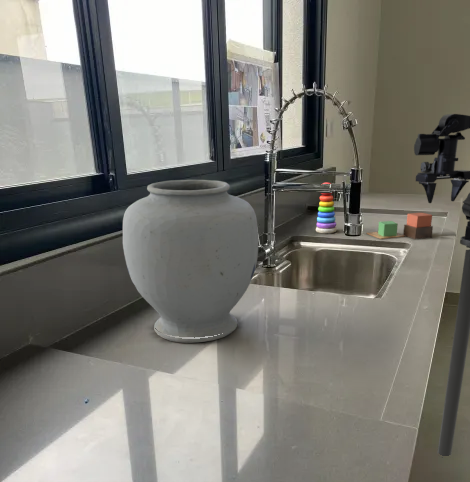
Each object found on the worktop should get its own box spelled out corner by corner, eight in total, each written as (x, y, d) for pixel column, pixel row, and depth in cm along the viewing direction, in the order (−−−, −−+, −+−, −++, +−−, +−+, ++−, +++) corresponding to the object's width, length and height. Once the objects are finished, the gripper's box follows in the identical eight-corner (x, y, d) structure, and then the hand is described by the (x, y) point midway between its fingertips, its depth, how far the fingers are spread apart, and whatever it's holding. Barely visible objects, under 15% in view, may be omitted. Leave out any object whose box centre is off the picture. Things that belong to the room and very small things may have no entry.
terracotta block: (420, 223, 182) (421, 212, 181) (431, 226, 177) (432, 215, 176) (406, 224, 181) (407, 213, 179) (416, 227, 175) (417, 216, 174)
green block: (390, 233, 185) (391, 221, 183) (396, 235, 180) (397, 223, 179) (377, 233, 185) (378, 221, 183) (383, 236, 180) (384, 224, 178)
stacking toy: (320, 229, 197) (321, 180, 191) (339, 230, 193) (341, 181, 187) (312, 233, 191) (313, 183, 184) (332, 234, 187) (334, 183, 180)
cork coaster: (389, 231, 190) (389, 230, 189) (405, 236, 181) (405, 235, 181) (366, 233, 187) (366, 232, 187) (381, 239, 178) (381, 238, 178)
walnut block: (419, 233, 184) (420, 223, 183) (431, 237, 178) (432, 226, 177) (403, 235, 183) (404, 224, 181) (414, 239, 176) (416, 228, 175)
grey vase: (274, 311, 113) (273, 176, 102) (234, 362, 90) (228, 193, 79) (169, 301, 122) (158, 175, 111) (108, 345, 99) (87, 191, 88)
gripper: (453, 152, 174) (448, 197, 180) (407, 154, 169) (403, 201, 175) (476, 153, 164) (470, 201, 170) (428, 156, 159) (423, 205, 165)
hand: (441, 202), depth 170 cm, fingers open, 9 cm apart
